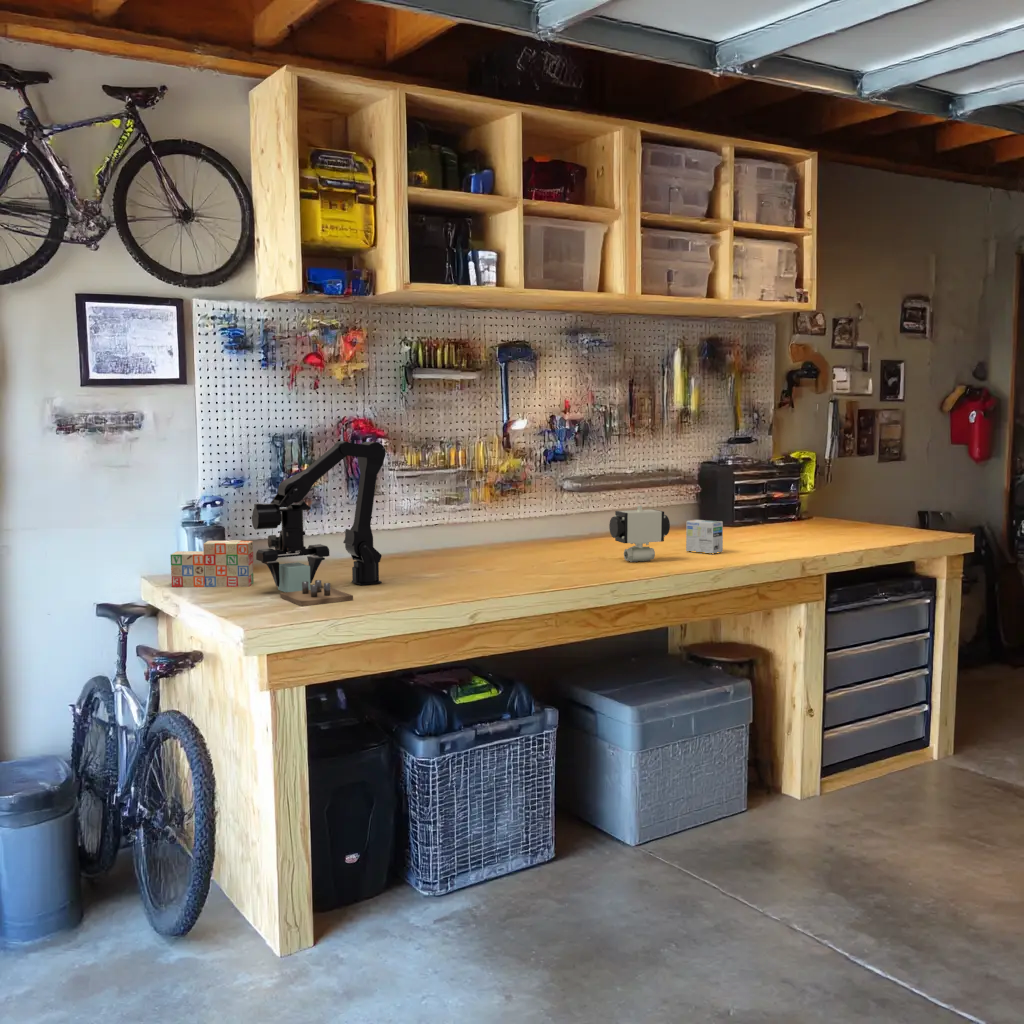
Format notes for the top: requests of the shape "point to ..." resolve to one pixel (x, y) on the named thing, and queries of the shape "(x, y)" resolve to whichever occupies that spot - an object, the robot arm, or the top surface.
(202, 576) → the stack of blocks
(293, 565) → the teal block
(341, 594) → the peg stand
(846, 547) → the top surface
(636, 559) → the ball valve
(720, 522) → the light bulb box
